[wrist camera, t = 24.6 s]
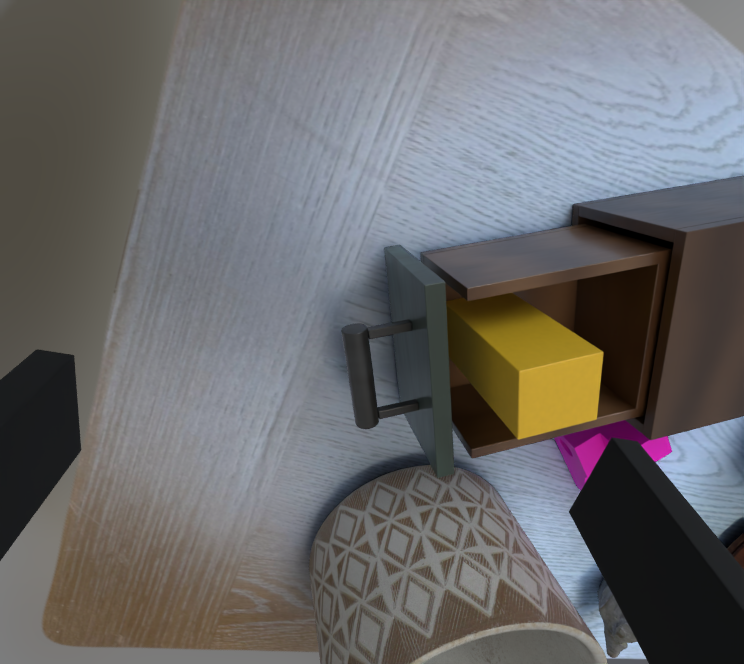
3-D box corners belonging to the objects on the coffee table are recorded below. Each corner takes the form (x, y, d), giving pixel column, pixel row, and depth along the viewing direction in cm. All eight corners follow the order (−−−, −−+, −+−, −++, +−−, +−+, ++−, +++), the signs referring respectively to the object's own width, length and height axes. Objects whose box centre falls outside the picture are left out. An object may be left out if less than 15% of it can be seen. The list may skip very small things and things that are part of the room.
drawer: (347, 418, 38) (372, 495, 30) (321, 257, 32) (343, 300, 24) (570, 367, 41) (645, 425, 33) (582, 213, 35) (676, 238, 27)
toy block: (545, 418, 44) (597, 471, 37) (602, 383, 44) (665, 430, 37) (588, 512, 51) (639, 571, 44) (638, 481, 50) (697, 536, 44)
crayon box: (443, 301, 34) (519, 371, 24) (506, 288, 35) (604, 351, 25) (446, 355, 36) (517, 440, 26) (506, 342, 37) (597, 420, 27)
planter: (308, 619, 47) (333, 841, 33) (304, 465, 40) (333, 665, 25) (485, 586, 52) (576, 769, 37) (511, 440, 44) (640, 598, 29)
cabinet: (561, 369, 42) (650, 440, 32) (572, 204, 36) (687, 232, 26) (719, 333, 45) (844, 389, 35) (755, 173, 38) (919, 188, 29)
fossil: (617, 610, 59) (666, 676, 52) (559, 610, 57) (602, 680, 49) (659, 543, 56) (718, 604, 49) (599, 540, 53) (652, 605, 46)
